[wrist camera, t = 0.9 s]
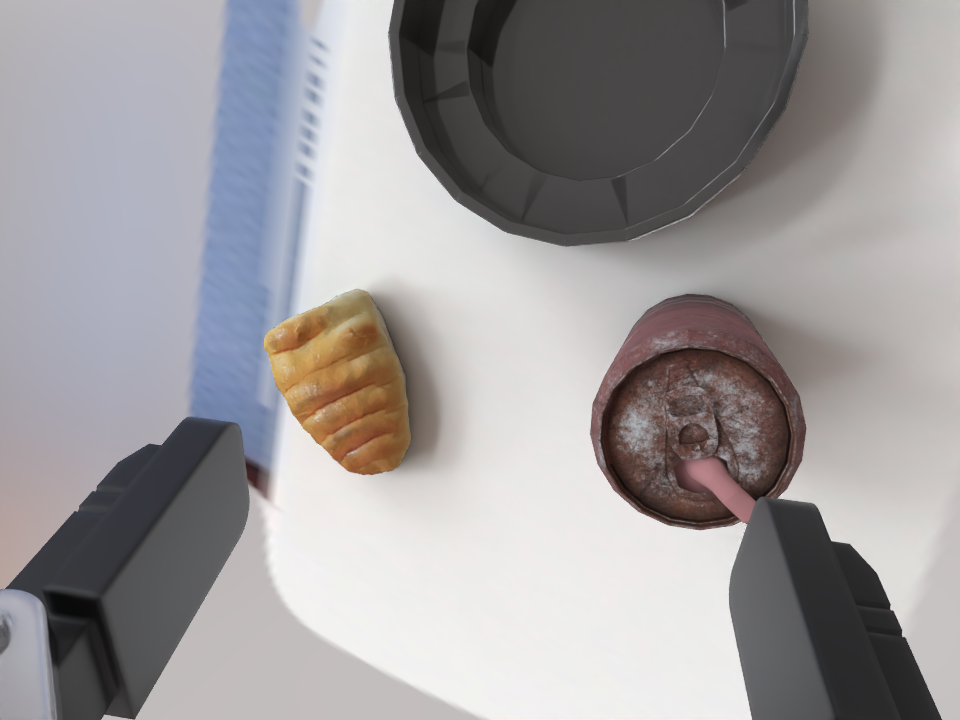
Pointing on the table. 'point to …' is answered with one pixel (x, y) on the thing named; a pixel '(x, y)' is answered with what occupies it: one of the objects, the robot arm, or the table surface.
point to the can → (697, 416)
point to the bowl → (592, 105)
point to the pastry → (344, 382)
